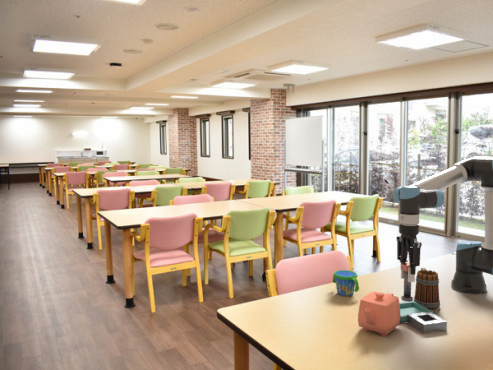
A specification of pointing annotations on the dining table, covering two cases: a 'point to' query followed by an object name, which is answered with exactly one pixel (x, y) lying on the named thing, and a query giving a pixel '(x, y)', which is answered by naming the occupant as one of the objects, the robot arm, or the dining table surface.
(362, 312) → the teapot
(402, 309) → the tray
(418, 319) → the eye block
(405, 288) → the rod with pink block
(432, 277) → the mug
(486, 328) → the dining table surface
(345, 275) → the snack cup
